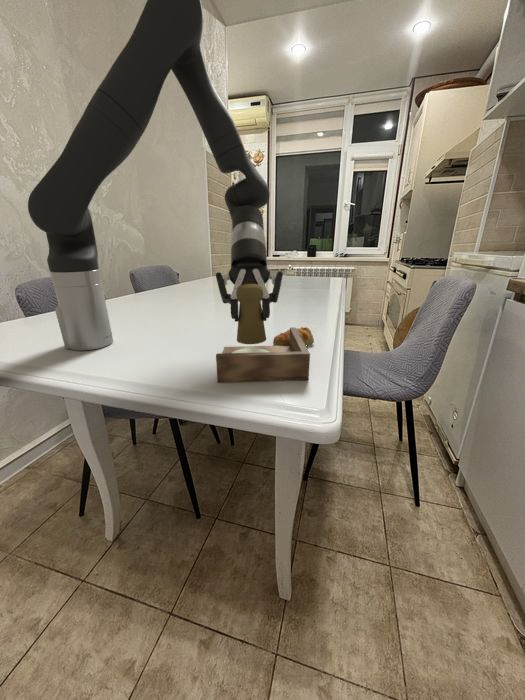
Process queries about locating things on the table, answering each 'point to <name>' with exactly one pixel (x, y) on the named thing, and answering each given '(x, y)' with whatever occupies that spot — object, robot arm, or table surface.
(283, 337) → the pastry
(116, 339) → the table surface
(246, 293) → the cork
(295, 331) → the corner tray
